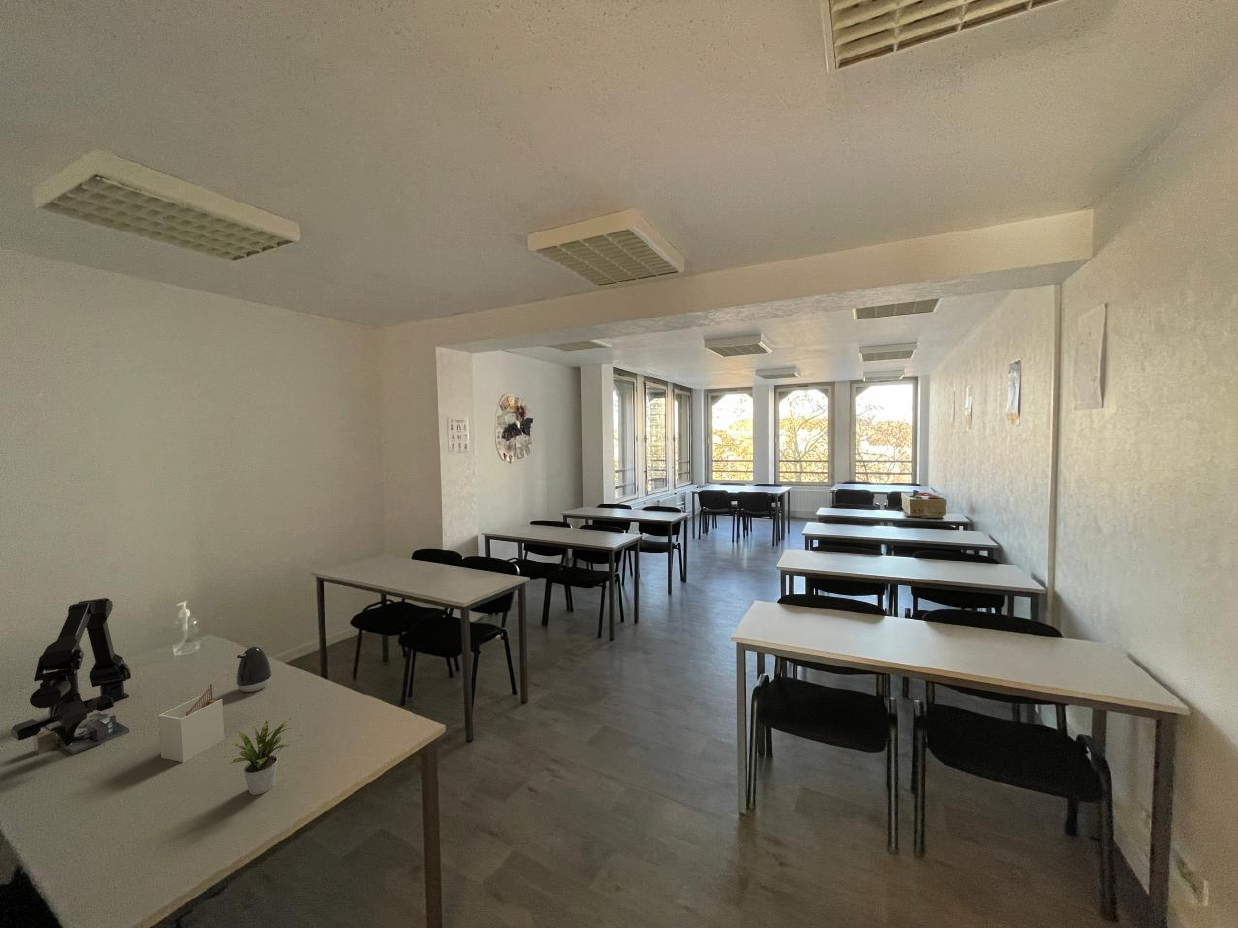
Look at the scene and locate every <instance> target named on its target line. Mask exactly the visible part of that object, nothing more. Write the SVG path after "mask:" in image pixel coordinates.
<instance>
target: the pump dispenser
mask: <svg viewBox="0 0 1238 928" xmlns="http://www.w3.org/2000/svg"><path fill="white" fill-rule="evenodd" d="M265 653H266V652H265V651H264V650H263V649H262V648H261V647H259V646H251V647H249V648H247V649H246V650H244V652H243V654H238V655H237V656H236V658H237V659H240V660H239V663H238V666H237V670H236V679H235V683H236V685H237V686H238V688H239V690H240V691H242V692H245V693H253V692H257V691H260V690H261V689H264V688H265V687H266V686H267V685H268V684H269V682H270V680H271V677H272V675H273V673H272V668H271V664H270V661H269V658H268V656H267V654H265Z"/></svg>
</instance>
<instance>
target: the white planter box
mask: <svg viewBox="0 0 1238 928" xmlns="http://www.w3.org/2000/svg"><path fill="white" fill-rule="evenodd" d="M223 706H224V705H223V699H222V698H220V699H218V700H214V699H213V684H212V683H210V684H209V688H208V689H207V690H206V691H205V692H204V694H202V695H199V696H197V697H195V698H193V699H190V700H188V701H186V702H184V703H181V704H179V705H178V706H175V707H173V708H171V709H169V710H167V711H164V712H162V713H160V714H158V728H159V730H158V731H159V732H158V733H159V748H160V749H159V750H160V758H162V759H165V760H166V759H167V760H171V761H176V762H180V763H185V762H186V761H189V760H190V759H191V758H193V757H195V756H198V755H199V754H201V753H203V752H205V751H206V750H208V749H210V748H212V747H214V746H215V745H216V744H218V743H221V742H222V741H224V740H225V725H224V708H223Z"/></svg>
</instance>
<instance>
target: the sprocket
mask: <svg viewBox="0 0 1238 928" xmlns="http://www.w3.org/2000/svg"><path fill="white" fill-rule="evenodd" d="M113 722H117V717H116V715H114V714H113V715H109V713H103V714H102V713H101V715H100V716H98V717H92V718H89V717H87V719H86V720H83V721H82V722H81V723H80V724H79V725H78V727H77V729H76V731H75V734H74V736H73V739H72V740H74V739H78V738H83V737H84V739H85V738H88V737H92V738H93V739H95V740H97V741H99V740H102V739H104V738H107V737H109V728H110V727H112V723H113ZM57 740H60V738H59V737H58V735H57V734H56V741H57Z"/></svg>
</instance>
